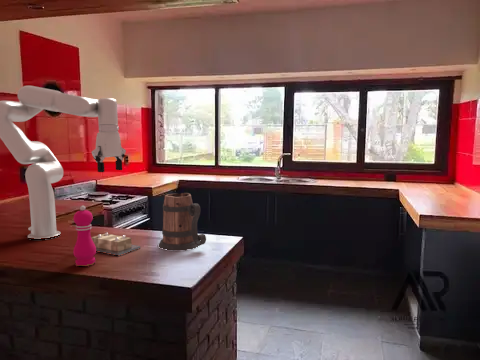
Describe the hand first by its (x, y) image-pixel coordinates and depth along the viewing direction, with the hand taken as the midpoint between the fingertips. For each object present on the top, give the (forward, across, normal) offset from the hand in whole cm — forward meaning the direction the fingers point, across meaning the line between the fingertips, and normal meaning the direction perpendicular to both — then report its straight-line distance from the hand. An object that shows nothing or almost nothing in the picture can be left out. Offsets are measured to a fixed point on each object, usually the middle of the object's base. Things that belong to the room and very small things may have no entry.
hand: (110, 171), depth 165 cm
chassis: (+28, +12, +12) cm, 33 cm away
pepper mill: (+28, +29, +17) cm, 44 cm away
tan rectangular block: (+27, +12, +12) cm, 32 cm away
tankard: (+29, -4, +34) cm, 45 cm away
